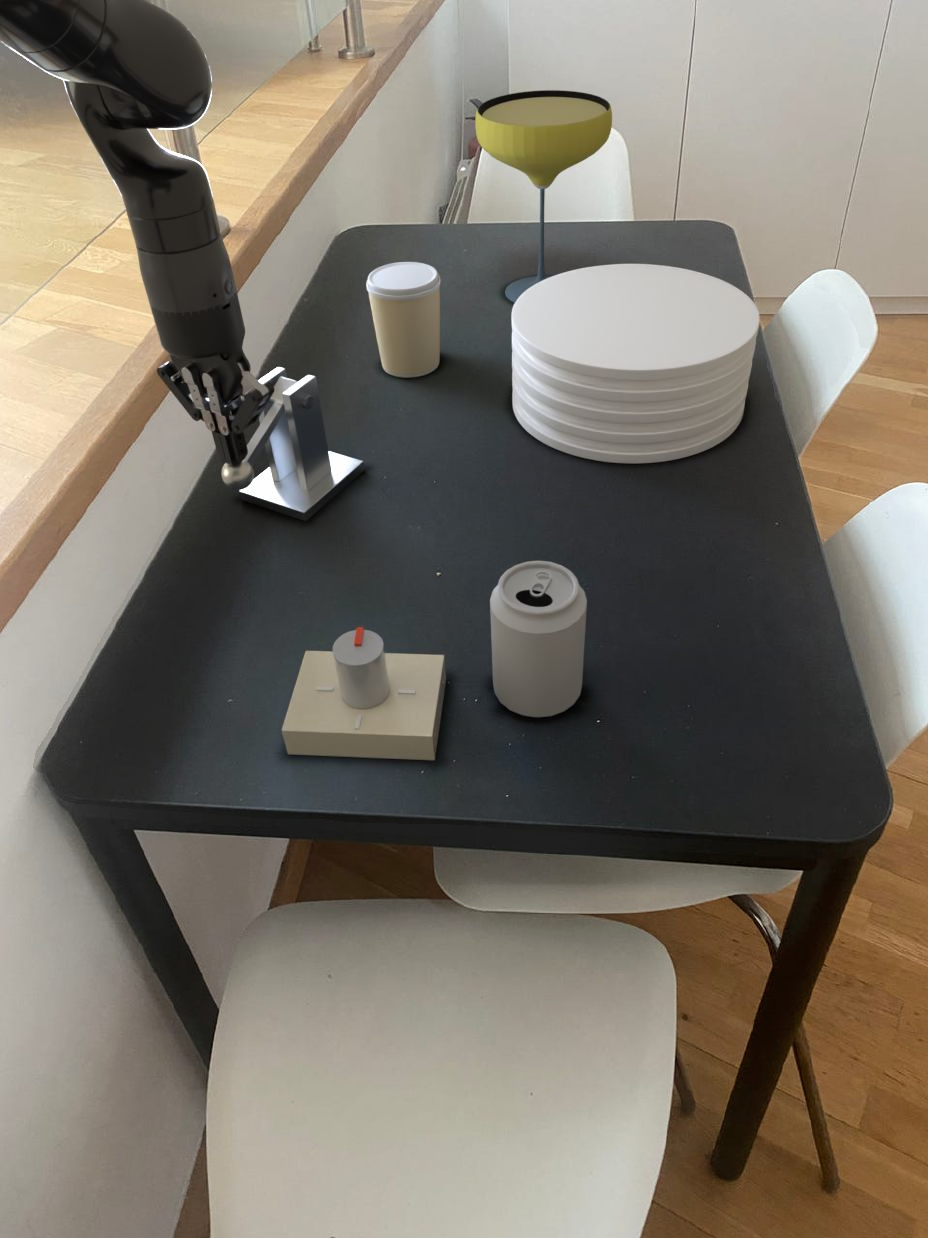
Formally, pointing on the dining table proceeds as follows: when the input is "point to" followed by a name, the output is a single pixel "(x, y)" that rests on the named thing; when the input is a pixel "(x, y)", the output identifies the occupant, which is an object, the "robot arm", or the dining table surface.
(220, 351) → the robot arm
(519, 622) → the can
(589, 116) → the cocktail glass
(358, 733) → the panel
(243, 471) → the tap lever
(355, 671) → the dial
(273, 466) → the tap bracket
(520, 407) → the plate stack
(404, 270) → the coffee cup
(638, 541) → the dining table surface
